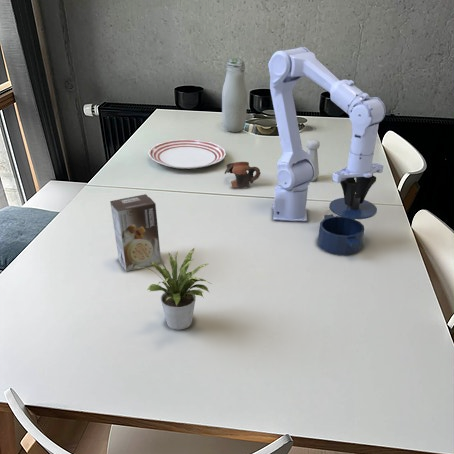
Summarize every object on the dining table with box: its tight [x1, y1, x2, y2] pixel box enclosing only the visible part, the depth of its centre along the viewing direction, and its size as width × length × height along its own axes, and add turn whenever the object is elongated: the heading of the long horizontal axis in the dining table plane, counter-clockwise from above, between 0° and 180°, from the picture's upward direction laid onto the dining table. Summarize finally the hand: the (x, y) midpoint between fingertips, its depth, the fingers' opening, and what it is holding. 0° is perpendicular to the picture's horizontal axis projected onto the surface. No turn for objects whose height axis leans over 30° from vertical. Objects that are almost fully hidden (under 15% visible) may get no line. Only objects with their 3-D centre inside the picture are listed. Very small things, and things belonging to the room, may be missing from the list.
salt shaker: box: [305, 138, 321, 182], centre depth 169 cm, size 6×6×13 cm
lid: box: [328, 193, 378, 220], centre depth 132 cm, size 12×12×4 cm
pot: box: [317, 213, 365, 256], centre depth 134 cm, size 11×17×5 cm
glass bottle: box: [221, 57, 248, 133], centre depth 207 cm, size 10×10×28 cm
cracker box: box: [110, 193, 162, 272], centre depth 123 cm, size 9×6×16 cm
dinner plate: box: [148, 138, 227, 170], centre depth 185 cm, size 27×27×3 cm
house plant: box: [137, 247, 212, 331], centre depth 102 cm, size 14×14×16 cm
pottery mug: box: [224, 161, 261, 189], centre depth 168 cm, size 12×10×8 cm
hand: (353, 203), depth 132 cm, fingers closed on lid, 3 cm apart
